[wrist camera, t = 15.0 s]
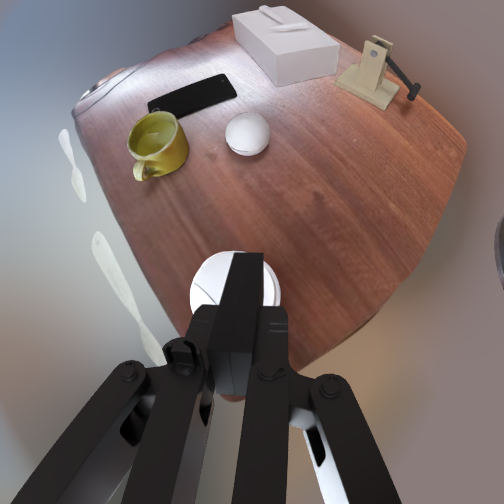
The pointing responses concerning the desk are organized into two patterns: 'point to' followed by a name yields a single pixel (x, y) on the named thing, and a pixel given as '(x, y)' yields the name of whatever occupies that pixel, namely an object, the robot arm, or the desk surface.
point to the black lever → (402, 76)
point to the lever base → (370, 75)
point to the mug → (157, 145)
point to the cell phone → (194, 96)
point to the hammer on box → (286, 45)
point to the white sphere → (247, 134)
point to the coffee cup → (214, 277)
